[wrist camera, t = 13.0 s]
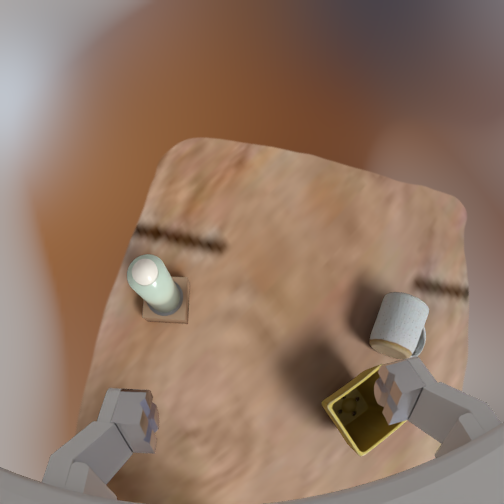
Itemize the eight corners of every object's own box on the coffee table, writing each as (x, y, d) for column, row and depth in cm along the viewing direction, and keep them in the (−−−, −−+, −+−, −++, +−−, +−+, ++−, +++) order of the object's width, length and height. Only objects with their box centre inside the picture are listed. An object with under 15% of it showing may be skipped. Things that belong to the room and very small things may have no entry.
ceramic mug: (358, 346, 43) (382, 340, 36) (375, 298, 46) (399, 285, 39) (411, 370, 42) (439, 366, 35) (425, 324, 45) (453, 314, 38)
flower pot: (337, 444, 37) (361, 458, 29) (307, 400, 40) (326, 405, 31) (383, 409, 39) (414, 414, 31) (356, 365, 42) (383, 362, 33)
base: (187, 323, 43) (184, 319, 40) (147, 321, 42) (141, 317, 40) (190, 283, 45) (187, 276, 42) (151, 282, 45) (145, 275, 42)
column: (179, 313, 40) (162, 292, 30) (147, 311, 40) (122, 290, 30) (181, 282, 42) (166, 252, 32) (151, 280, 42) (127, 250, 32)
